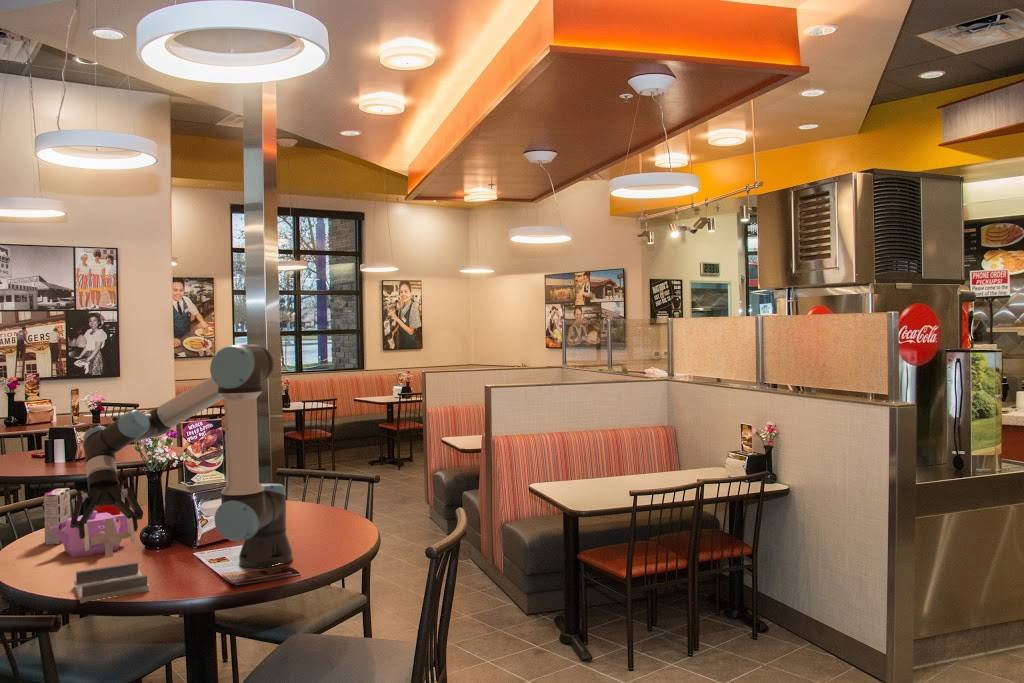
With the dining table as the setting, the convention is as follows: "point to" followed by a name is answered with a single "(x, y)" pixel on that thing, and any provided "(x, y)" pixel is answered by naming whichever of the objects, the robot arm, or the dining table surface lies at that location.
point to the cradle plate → (133, 591)
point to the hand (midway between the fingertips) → (110, 544)
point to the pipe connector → (108, 538)
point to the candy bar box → (56, 513)
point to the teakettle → (95, 525)
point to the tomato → (108, 509)
